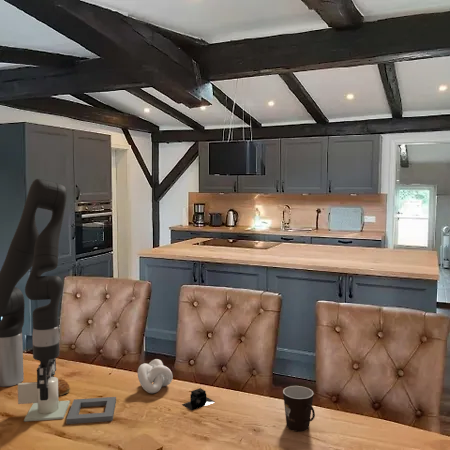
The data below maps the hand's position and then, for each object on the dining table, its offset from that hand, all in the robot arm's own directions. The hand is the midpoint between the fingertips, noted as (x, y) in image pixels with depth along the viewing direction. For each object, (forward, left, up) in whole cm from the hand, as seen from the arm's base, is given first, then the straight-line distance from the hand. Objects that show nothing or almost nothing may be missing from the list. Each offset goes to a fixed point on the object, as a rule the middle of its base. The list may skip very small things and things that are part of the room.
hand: (47, 393), depth 143 cm
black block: (+46, -1, -6) cm, 46 cm away
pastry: (0, +16, -6) cm, 17 cm away
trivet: (0, 0, -6) cm, 6 cm away
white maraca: (-3, 0, -5) cm, 6 cm away
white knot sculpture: (+32, +12, -6) cm, 34 cm away
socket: (+14, -2, -6) cm, 15 cm away
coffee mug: (+73, -22, -6) cm, 76 cm away
